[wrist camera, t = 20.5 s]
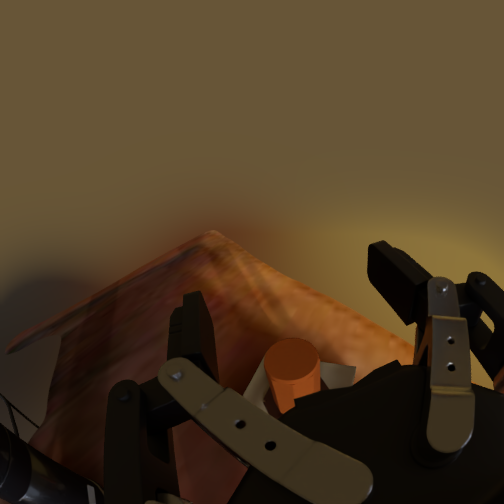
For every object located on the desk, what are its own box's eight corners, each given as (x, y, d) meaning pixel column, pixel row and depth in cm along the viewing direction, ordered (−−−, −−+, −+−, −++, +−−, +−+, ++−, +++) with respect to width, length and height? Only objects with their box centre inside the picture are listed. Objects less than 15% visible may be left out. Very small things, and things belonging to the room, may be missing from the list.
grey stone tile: (230, 433, 29) (224, 426, 28) (269, 360, 39) (266, 350, 37) (328, 461, 23) (329, 456, 22) (354, 376, 33) (356, 366, 32)
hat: (254, 416, 29) (237, 380, 24) (279, 367, 34) (269, 323, 30) (318, 433, 25) (317, 400, 20) (337, 379, 31) (339, 334, 26)
